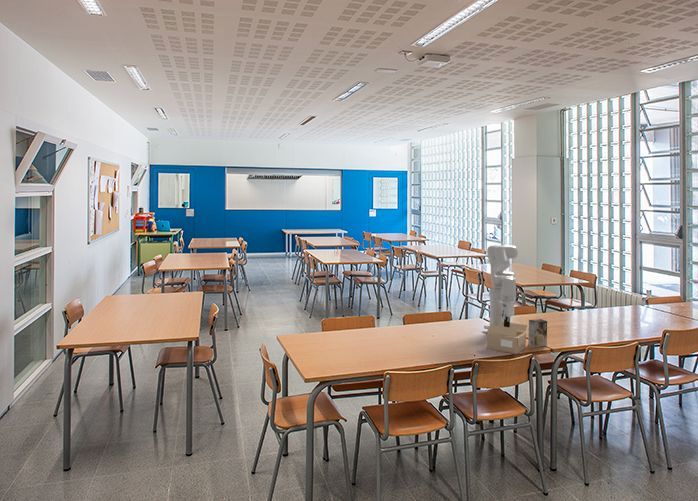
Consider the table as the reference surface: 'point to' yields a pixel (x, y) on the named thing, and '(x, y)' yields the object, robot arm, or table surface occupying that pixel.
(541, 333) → the coffee box
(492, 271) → the robot arm
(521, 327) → the far flap
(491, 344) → the carton
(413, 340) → the table surface
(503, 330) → the near flap
